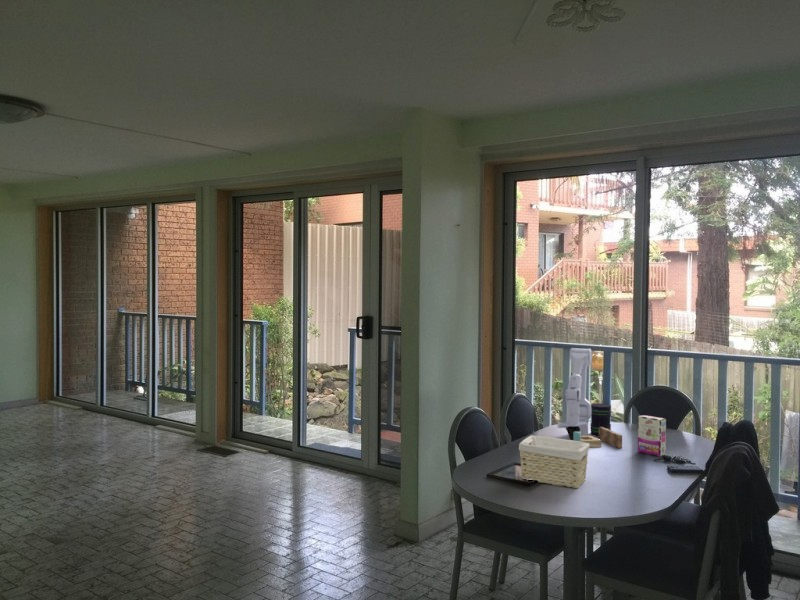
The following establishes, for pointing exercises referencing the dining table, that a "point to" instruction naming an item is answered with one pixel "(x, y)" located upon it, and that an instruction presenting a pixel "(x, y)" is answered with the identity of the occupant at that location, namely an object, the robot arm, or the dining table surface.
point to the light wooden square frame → (591, 441)
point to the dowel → (577, 436)
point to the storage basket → (554, 460)
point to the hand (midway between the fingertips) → (572, 442)
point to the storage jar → (600, 417)
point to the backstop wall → (610, 437)
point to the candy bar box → (652, 435)
